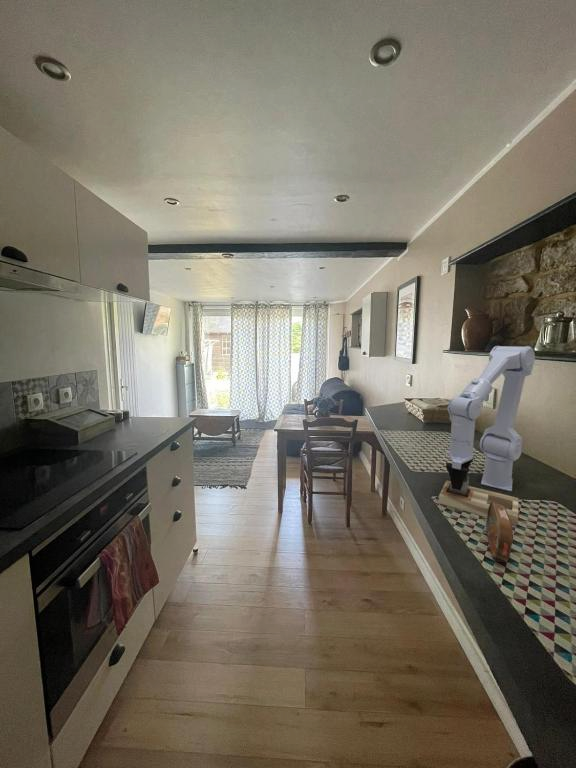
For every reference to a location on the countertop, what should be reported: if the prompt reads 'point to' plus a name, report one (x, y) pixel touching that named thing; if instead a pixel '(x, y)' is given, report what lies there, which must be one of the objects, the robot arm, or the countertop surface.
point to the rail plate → (479, 501)
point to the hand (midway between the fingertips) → (458, 483)
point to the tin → (499, 531)
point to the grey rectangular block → (463, 490)
